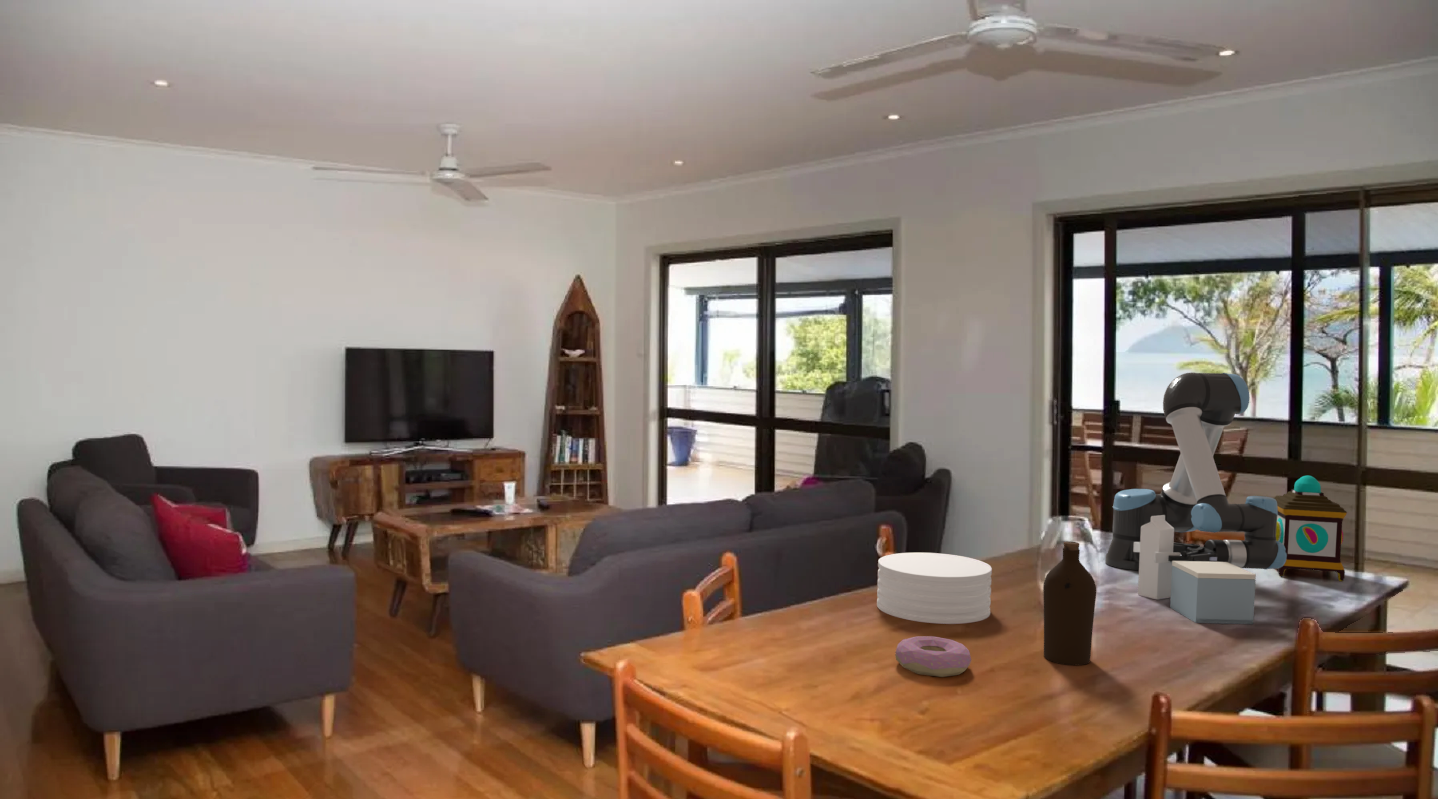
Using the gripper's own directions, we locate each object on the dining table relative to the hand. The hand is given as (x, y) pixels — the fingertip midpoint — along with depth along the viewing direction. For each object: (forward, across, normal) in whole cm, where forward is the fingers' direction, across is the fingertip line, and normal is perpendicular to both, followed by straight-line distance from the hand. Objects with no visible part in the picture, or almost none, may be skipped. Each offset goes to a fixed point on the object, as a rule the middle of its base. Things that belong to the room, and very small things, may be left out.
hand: (1144, 552), depth 267 cm
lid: (-9, -19, -1) cm, 21 cm away
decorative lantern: (-63, +33, -12) cm, 72 cm away
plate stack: (+60, -18, -12) cm, 64 cm away
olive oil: (+40, -57, -12) cm, 71 cm away
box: (-9, -19, -12) cm, 24 cm away
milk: (-3, 0, -12) cm, 13 cm away
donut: (+70, -65, -12) cm, 96 cm away
